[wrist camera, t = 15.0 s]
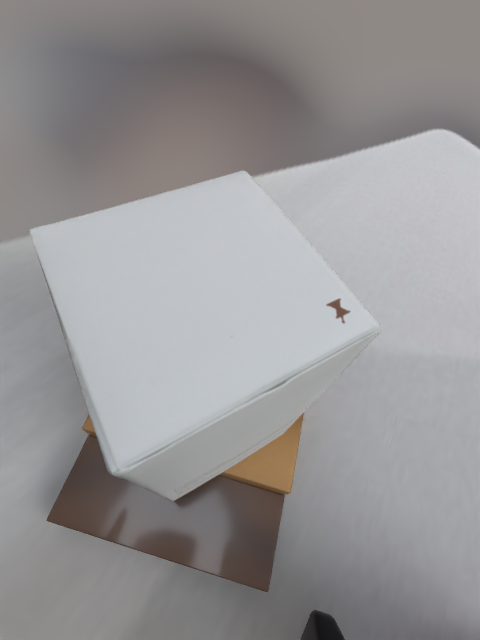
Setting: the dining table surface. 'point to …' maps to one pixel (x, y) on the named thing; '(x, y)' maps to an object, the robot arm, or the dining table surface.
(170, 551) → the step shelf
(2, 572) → the dining table surface
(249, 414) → the white packaging box
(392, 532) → the dining table surface
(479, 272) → the dining table surface
